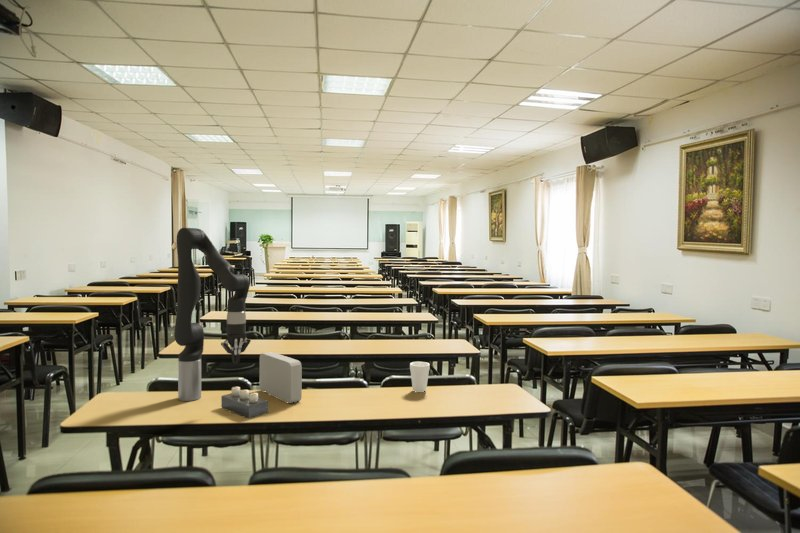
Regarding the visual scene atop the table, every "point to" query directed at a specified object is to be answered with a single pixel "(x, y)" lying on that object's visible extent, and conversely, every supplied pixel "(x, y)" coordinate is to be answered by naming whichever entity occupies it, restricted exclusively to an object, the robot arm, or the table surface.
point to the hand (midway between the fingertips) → (235, 363)
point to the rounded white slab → (281, 377)
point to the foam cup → (419, 375)
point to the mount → (244, 406)
